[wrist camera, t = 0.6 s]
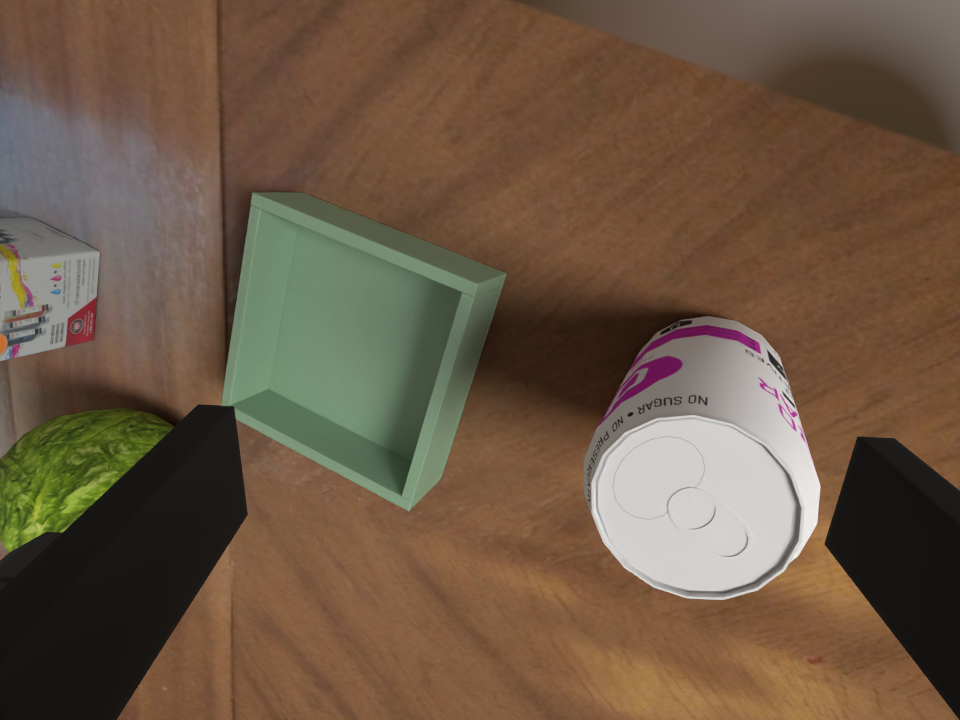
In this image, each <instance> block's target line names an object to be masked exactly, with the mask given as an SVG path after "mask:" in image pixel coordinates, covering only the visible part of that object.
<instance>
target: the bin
mask: <svg viewBox="0 0 960 720" xmlns="http://www.w3.org/2000/svg"><path fill="white" fill-rule="evenodd" d="M251 205H252V206H250V213H249V219H248V226H247V233H246V240H245V246H244V253H243V260H242V266H241V273H240V280H239V287H238V293H237V300H236V307H235V314H234V320H233V327H232V334H231V340H230V347H229V354H228V361H227V367H226V374H225V381H224V388H223V394H222V402H221V406H234V409H235V417H236V420H238V421H240V422H242V423H244V424H246V425H248V426H249V427H251V428H253V429H255V430H257V431H259V432H261V433H263V434H264V435H266V436H268V437H270V438H272V439H274V440H276V441H278V442H279V443H281V444H283V445H285V446H287V447H289V448H291V449H293V450H294V451H296V452H298V453H300V454H302V455H304V456H306V457H308V458H310V459H311V460H313V461H315V462H317V463H319V464H321V465H323V466H325V467H326V468H328V469H330V470H332V471H334V472H336V473H338V474H340V475H341V476H343V477H345V478H347V479H349V480H351V481H353V482H355V483H356V484H358V485H360V486H362V487H364V488H366V489H368V490H370V491H371V492H373V493H375V494H377V495H379V496H381V497H383V498H385V499H386V500H388V501H390V502H392V503H394V504H396V505H398V506H400V507H402V508H403V509H405V510H407V511H410V510H411V509H412V508H413V507H414V506H415V505H416V504H417V503H418V502H419V501H420V500H421V499H422V498H423V497H424V496H425V495H426V494H427V493H428V492H429V491H430V490H431V489H432V488H433V487H434V486H435V485H436V484H437V483H438V482H439V481H440V480H441V477H442V474H443V471H444V468H445V465H446V462H447V458H448V455H449V452H450V449H451V446H452V443H453V440H454V437H455V434H456V430H457V427H458V424H459V421H460V418H461V415H462V412H463V409H464V406H465V402H466V399H467V396H468V393H469V390H470V387H471V384H472V381H473V378H474V374H475V371H476V368H477V365H478V362H479V359H480V356H481V353H482V350H483V346H484V343H485V340H486V337H487V334H488V331H489V328H490V325H491V322H492V319H493V315H494V312H495V309H496V306H497V303H498V300H499V297H500V294H501V291H502V287H503V284H504V281H505V278H506V275H507V273H505V272H502V271H500V270H497V269H495V268H492V267H490V266H487V265H485V264H482V263H480V262H477V261H474V260H472V259H469V258H467V257H464V256H462V255H459V254H457V253H454V252H452V251H449V250H447V249H444V248H442V247H439V246H436V245H434V244H431V243H429V242H426V241H424V240H421V239H419V238H416V237H414V236H411V235H409V234H406V233H404V232H401V231H399V230H396V229H393V228H391V227H388V226H386V225H383V224H381V223H378V222H376V221H373V220H371V219H368V218H366V217H363V216H361V215H358V214H355V213H353V212H350V211H348V210H345V209H343V208H340V207H338V206H335V205H333V204H330V203H328V202H325V201H323V200H320V199H317V198H315V197H312V196H310V195H307V194H305V193H302V192H296V193H295V192H253V193H252V198H251Z"/></svg>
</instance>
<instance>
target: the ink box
mask: <svg viewBox="0 0 960 720" xmlns="http://www.w3.org/2000/svg"><path fill="white" fill-rule="evenodd" d="M99 259H100V252H99V251H98V250H96V249H94V248H92V247H90V246H88V245H87V244H85V243H83V242H81V241H79V240H77V239H75V238H72V237H70V236H68V235H66V234H64V233H62V232H60V231H58V230H56V229H54V228H52V227H50V226H48V225H46V224H44V223H41V222H39V221H37V220H35V219H32V218H0V361H3V360H8V359H12V358H17V357H22V356H26V355H30V354H35V353H39V352H44V351H48V350H52V349H56V348H61V347H65V346H70V345H74V344H79V343H83V342H88V341H92V340H94V329H95V315H96V301H97V286H98V273H99Z"/></svg>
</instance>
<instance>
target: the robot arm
mask: <svg viewBox="0 0 960 720" xmlns="http://www.w3.org/2000/svg"><path fill="white" fill-rule="evenodd" d="M247 515H248V514H247V506H246V498H245V490H244V482H243V474H242V466H241V458H240V450H239V442H238V433H237V425H236V417H235V409H234V406H218V405H197V406H196V407H195V408H194V409H193V410H192V411H191V412H190V413H189V414H188V415H187V416H186V417H185V418H183V419H182V420H181V421H180V422H179V423H178V424H177V425H176V426H175V427H174V428H173V429H172V430H171V431H170V432H169V433H168V434H166V435H165V436H164V437H163V438H162V439H161V440H160V441H159V442H158V443H157V444H156V445H155V446H154V447H153V448H152V449H151V450H149V451H148V452H147V453H146V454H145V455H144V456H143V457H142V458H141V459H140V460H139V461H138V462H137V463H136V464H135V465H134V466H132V467H131V468H130V469H129V470H128V471H127V472H126V473H125V474H124V475H123V476H122V477H121V478H120V479H119V480H118V481H117V482H115V483H114V484H113V485H112V486H111V487H110V488H109V489H108V490H107V491H106V492H105V493H104V494H103V495H102V496H101V497H100V498H98V499H97V500H96V501H95V502H94V503H93V504H92V505H91V506H90V507H89V508H88V509H87V510H86V511H85V512H84V513H83V514H81V515H80V516H79V517H78V518H77V519H76V520H75V521H74V522H73V523H72V524H71V525H70V526H69V527H68V528H67V529H66V530H64V531H63V532H45V533H43V534H41V535H40V536H38V537H36V538H34V539H32V540H31V541H29V542H27V543H25V544H24V545H22V546H20V547H18V548H16V549H15V550H13V551H11V552H10V553H9V554H7V555H6V556H5V557H4V558H3V559H2V560H1V561H0V720H117V718H118V716H119V715H120V713H121V712H122V710H123V709H124V707H125V706H126V704H127V702H128V701H129V699H130V698H131V696H132V695H133V693H134V691H135V690H136V688H137V687H138V685H139V684H140V682H141V681H142V679H143V677H144V676H145V674H146V673H147V671H148V670H149V668H150V666H151V665H152V663H153V662H154V660H155V659H156V657H157V656H158V654H159V652H160V651H161V649H162V648H163V646H164V645H165V643H166V641H167V640H168V638H169V637H170V635H171V634H172V632H173V631H174V629H175V627H176V626H177V624H178V623H179V621H180V620H181V618H182V616H183V615H184V613H185V612H186V610H187V609H188V607H189V605H190V604H191V602H192V601H193V599H194V598H195V596H196V595H197V593H198V591H199V590H200V588H201V587H202V585H203V584H204V582H205V580H206V579H207V577H208V576H209V574H210V573H211V571H212V570H213V568H214V566H215V565H216V563H217V562H218V560H219V559H220V557H221V555H222V554H223V552H224V551H225V549H226V548H227V546H228V545H229V543H230V541H231V540H232V538H233V537H234V535H235V534H236V532H237V530H238V529H239V527H240V526H241V524H242V523H243V521H244V519H245V518H246V516H247ZM825 546H826V547H827V548H828V549H829V551H830V552H831V553H832V555H833V556H834V557H835V559H836V560H837V561H838V562H839V564H840V565H841V566H842V568H843V569H844V570H845V572H846V573H847V574H848V575H849V577H850V578H851V579H852V581H853V582H854V583H855V585H856V586H857V587H858V588H859V590H860V591H861V592H862V594H863V595H864V596H865V598H866V599H867V600H868V601H869V603H870V604H871V605H872V607H873V608H874V609H875V611H876V612H877V613H878V614H879V616H880V617H881V618H882V620H883V621H884V622H885V624H886V625H887V626H888V627H889V629H890V630H891V631H892V633H893V634H894V635H895V637H896V638H897V639H898V640H899V642H900V643H901V644H902V646H903V647H904V648H905V650H906V651H907V652H908V653H909V655H910V656H911V657H912V659H913V660H914V661H915V663H916V664H917V665H918V666H919V668H920V669H921V670H922V672H923V673H924V674H925V676H926V677H927V678H928V679H929V681H930V682H931V683H932V685H933V686H934V687H935V689H936V690H937V691H938V692H939V694H940V695H941V696H942V698H943V699H944V700H945V702H946V703H947V704H948V705H949V707H950V708H951V709H952V711H953V712H954V713H955V715H956V716H957V717H958V718H959V720H960V491H959V490H958V489H957V488H955V487H954V486H953V485H952V484H951V483H949V482H948V481H947V480H946V479H944V478H943V477H942V476H941V475H939V474H938V473H937V472H936V471H934V470H933V469H932V468H931V467H929V466H928V465H927V464H926V463H924V462H923V461H922V460H921V459H919V458H918V457H917V456H916V455H914V454H913V453H912V452H911V451H909V450H908V449H907V448H906V447H904V446H903V445H902V444H901V443H899V442H898V441H897V440H896V439H894V438H874V437H857V440H856V443H855V447H854V450H853V453H852V456H851V460H850V463H849V466H848V469H847V473H846V476H845V479H844V482H843V486H842V489H841V492H840V495H839V499H838V502H837V505H836V508H835V512H834V515H833V518H832V521H831V525H830V528H829V531H828V534H827V537H826V541H825Z"/></svg>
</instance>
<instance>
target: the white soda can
mask: <svg viewBox="0 0 960 720" xmlns="http://www.w3.org/2000/svg"><path fill="white" fill-rule="evenodd" d="M584 496H585V499H586V501H587V504H588V506H589V509H590V511H591V514H592V516H593V519H594V522H595V524H596V527H597V528H598V530H599V533H600V535H601V538H602V541H603V543H604V544H605V545H606V546H607V547H608V549H609V550H610V551H611V552H612V553H613V555H614V556H615V557H616V558H617V559H618V561H619V562H620V563H621V564H622V566H623V567H624V568H625V569H627V570H628V571H630V572H631V573H633V574H634V575H636V576H637V577H639V578H640V579H642V580H643V581H645V582H646V583H648V584H649V585H651V586H652V587H654V588H657V589H660V590H663V591H666V592H669V593H672V594H676V595H679V596H682V597H685V598H688V599H717V600H725V599H728V598H732V597H736V596H739V595H743V594H746V593H750V592H753V591H757V590H759V589H760V588H762V587H763V586H764V585H766V584H767V583H768V582H770V581H771V580H773V579H774V578H775V577H777V576H778V575H779V574H781V573H782V572H783V571H785V570H786V568H787V566H788V565H789V563H790V562H791V561H792V560H794V559H795V558H797V557H798V556H799V554H800V552H801V551H802V549H803V547H804V545H805V544H806V542H807V540H808V539H809V537H810V535H811V533H812V532H813V530H814V528H815V527H816V525H817V518H818V507H819V496H820V483H819V480H818V477H817V474H816V470H815V467H814V464H813V461H812V457H811V454H810V451H809V448H808V444H807V441H806V438H805V435H804V432H803V428H802V425H801V422H800V419H799V415H798V412H797V409H796V406H795V402H794V399H793V396H792V393H791V389H790V386H789V383H788V380H787V377H786V374H785V371H784V368H783V365H782V362H781V359H780V357H779V355H778V354H777V352H776V351H775V350H774V349H773V348H772V347H771V346H770V344H769V343H768V342H767V341H766V340H765V339H764V337H763V336H762V335H761V334H759V333H757V332H755V331H753V330H752V329H750V328H748V327H746V326H744V325H743V324H741V323H739V322H737V321H733V320H728V319H722V318H717V317H711V316H705V317H698V318H691V319H685V320H680V321H678V322H676V323H674V324H672V325H670V326H668V327H666V328H664V329H662V330H660V331H659V332H657V333H656V334H655V335H654V336H653V337H652V338H651V339H650V340H649V341H648V343H647V344H646V345H645V346H644V347H643V348H642V349H641V350H640V352H639V353H638V355H637V357H636V359H635V361H634V362H633V364H632V366H631V368H630V370H629V371H628V373H627V375H626V377H625V379H624V380H623V382H622V384H621V386H620V388H619V389H618V391H617V393H616V395H615V397H614V398H613V400H612V402H611V404H610V406H609V407H608V409H607V411H606V413H605V414H604V416H603V418H602V420H601V422H600V423H599V425H598V427H597V429H596V431H595V433H594V436H593V439H592V441H591V444H590V446H589V449H588V451H587V454H586V456H585V459H584Z"/></svg>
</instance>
